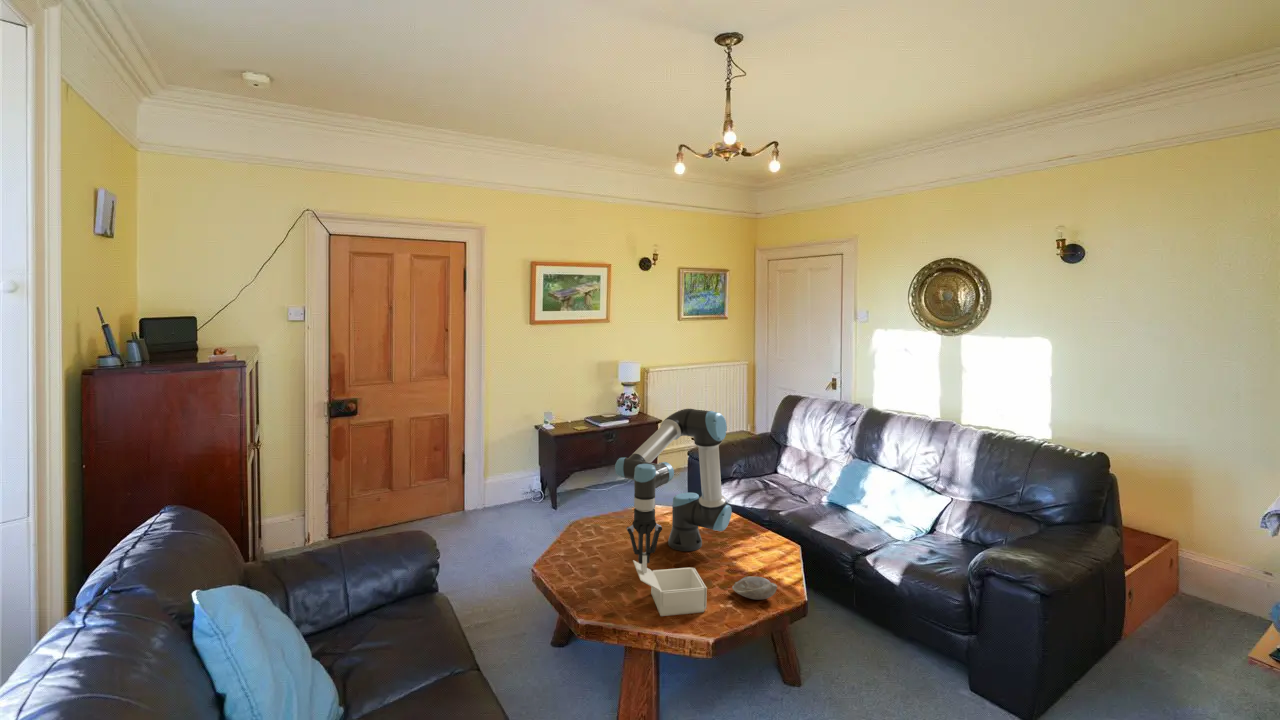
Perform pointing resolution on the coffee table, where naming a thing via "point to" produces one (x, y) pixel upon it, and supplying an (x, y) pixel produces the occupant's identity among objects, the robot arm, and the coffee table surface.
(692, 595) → the white open box
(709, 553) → the coffee table surface
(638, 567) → the flap
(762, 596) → the seashell
